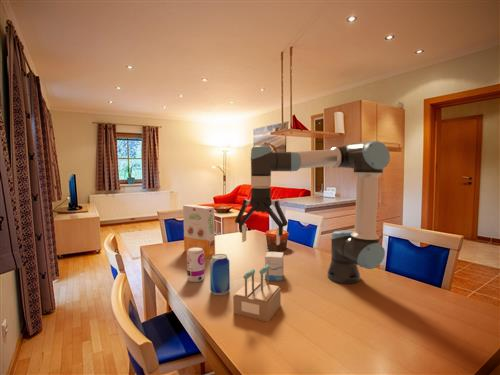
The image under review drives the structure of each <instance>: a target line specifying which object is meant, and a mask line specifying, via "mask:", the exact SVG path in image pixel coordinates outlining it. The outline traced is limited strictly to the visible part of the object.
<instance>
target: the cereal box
mask: <svg viewBox="0 0 500 375" xmlns="http://www.w3.org/2000/svg"><path fill="white" fill-rule="evenodd" d="M182 215H183V217H182V218H183V243H184V244H183V248H184V251H183V252H186V253H187V251H188V249H189V248H193V247H200V248H202V249H203V251H204V259H208V258H212V256H213V255H215V254H216V240H215V238H216V237H215V236H216V234H215V233H216V231H215V230H216V229H215V227H216V226H215V225H216V224H215V207H213V206H206V205H205V206H204V205H198V204H183V205H182Z"/></svg>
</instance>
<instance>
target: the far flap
mask: <svg viewBox="0 0 500 375" xmlns="http://www.w3.org/2000/svg"><path fill="white" fill-rule="evenodd" d="M255 273H256V270H255V269H254V268H251V269H250V270H249V271H247V272H246V273H245V274H244V275H243V279H244V285H243V286H242V287H241V288H239V289H238V290H237V291H236V292H235V293H234V294H235V295H237V296H242V297H246V298H247V297H248V296H249V295H250V294H251V293H252V292H253V291H254V290H255V289H256V288H257V287H258V286H259V285H260V284H261V282H257V281H255ZM250 277H251V280H249V279H250ZM248 280H249V281H248Z"/></svg>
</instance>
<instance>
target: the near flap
mask: <svg viewBox="0 0 500 375" xmlns="http://www.w3.org/2000/svg"><path fill="white" fill-rule="evenodd" d="M269 268H270V266H269V265H266V266H265V265H264V266H263V267H262V268H261V269H260V270H259V274H260V283H261V291H260V292H259V293H258V294H257V295H256V296H255V297H254V299H256V300H260V301H265V302H267V301H268V300H269V299H270V297H271V296H272V295H273V294H274V293H275V291H276V290H277V289H278V288H280V286H279V285H274V284H270V280H269ZM266 271H267V280H266V284H265V285H266V286H265V287H264V288H263V285H264V275H265V272H266Z"/></svg>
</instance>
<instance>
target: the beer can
mask: <svg viewBox="0 0 500 375" xmlns="http://www.w3.org/2000/svg"><path fill="white" fill-rule="evenodd" d="M209 277H210V278H209V279H210V280H209V281H210V283H209V284H210V285H209V286H210V287H209V288H210V291H211V293H212V295H215V296H224V295H226V294H228V293H229V291H230V289H231V282H230V280H231V275H230V260H229V258H228V254H225V253H217V254H216V253H215V255H213V256H212V257H211V259H210V261H209Z"/></svg>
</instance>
